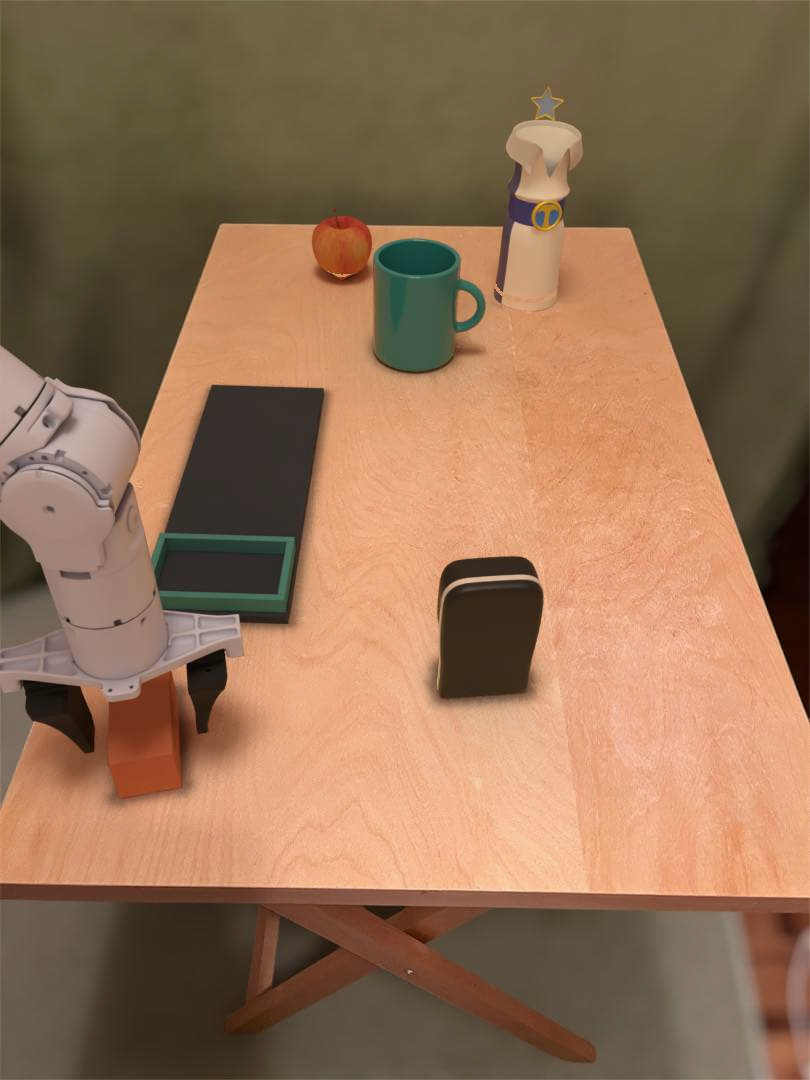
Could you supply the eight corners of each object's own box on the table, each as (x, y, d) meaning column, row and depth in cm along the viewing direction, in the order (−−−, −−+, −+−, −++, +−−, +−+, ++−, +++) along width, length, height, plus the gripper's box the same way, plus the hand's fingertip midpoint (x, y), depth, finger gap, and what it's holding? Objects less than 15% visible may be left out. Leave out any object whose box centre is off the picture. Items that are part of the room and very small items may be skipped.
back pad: (288, 623, 71) (286, 603, 70) (140, 619, 71) (135, 599, 70) (324, 394, 95) (323, 375, 93) (212, 390, 95) (209, 371, 93)
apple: (337, 294, 111) (335, 231, 105) (301, 272, 115) (298, 210, 109) (384, 277, 114) (384, 214, 109) (347, 256, 118) (346, 195, 113)
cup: (480, 378, 98) (489, 281, 90) (369, 371, 98) (368, 274, 91) (481, 335, 104) (490, 241, 97) (377, 329, 105) (377, 235, 97)
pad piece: (120, 798, 60) (107, 764, 57) (120, 702, 66) (109, 666, 63) (182, 787, 61) (173, 753, 58) (177, 693, 66) (168, 657, 64)
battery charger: (520, 653, 70) (538, 544, 62) (530, 693, 67) (550, 584, 59) (429, 659, 69) (436, 550, 61) (436, 700, 66) (444, 591, 59)
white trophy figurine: (572, 309, 109) (609, 85, 92) (504, 315, 108) (528, 89, 91) (549, 277, 115) (579, 61, 98) (484, 283, 114) (503, 65, 97)
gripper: (-35, 665, 49) (30, 802, 58) (238, 624, 51) (259, 761, 61) (-20, 574, 54) (38, 713, 63) (228, 540, 56) (249, 679, 66)
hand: (146, 731), depth 62 cm, fingers open, 7 cm apart
